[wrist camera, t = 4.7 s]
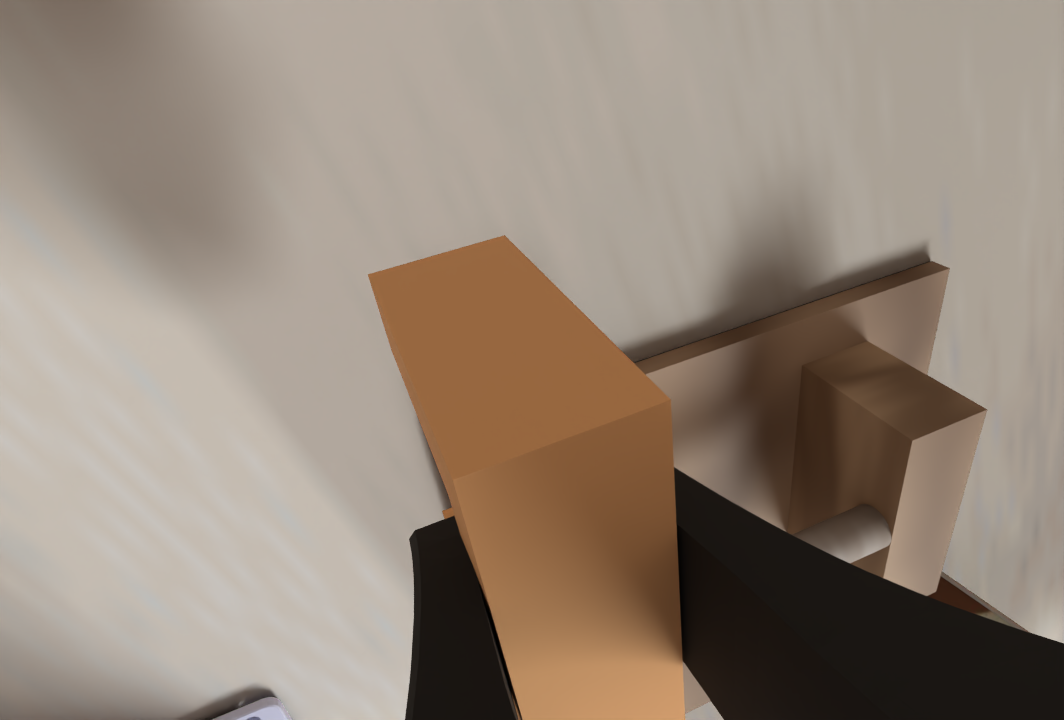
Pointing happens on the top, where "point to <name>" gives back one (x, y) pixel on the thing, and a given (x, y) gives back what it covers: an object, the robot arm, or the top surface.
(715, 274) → the top surface
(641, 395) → the orange step-cut beam
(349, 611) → the top surface
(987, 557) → the top surface
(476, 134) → the top surface
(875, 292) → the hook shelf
